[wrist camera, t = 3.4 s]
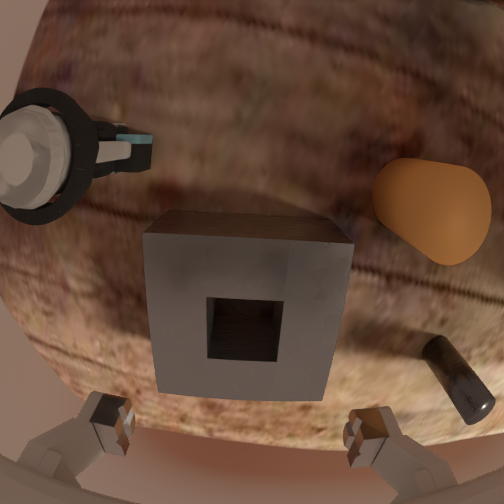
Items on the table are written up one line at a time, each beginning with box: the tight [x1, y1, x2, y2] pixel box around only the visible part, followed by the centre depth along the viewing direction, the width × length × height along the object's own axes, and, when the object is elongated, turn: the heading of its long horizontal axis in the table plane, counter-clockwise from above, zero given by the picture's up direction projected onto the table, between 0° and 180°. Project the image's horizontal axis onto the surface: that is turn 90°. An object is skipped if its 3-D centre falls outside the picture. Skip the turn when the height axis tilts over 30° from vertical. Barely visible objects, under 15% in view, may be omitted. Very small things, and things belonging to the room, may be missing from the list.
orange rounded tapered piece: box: [372, 157, 492, 265], centre depth 16 cm, size 5×5×6 cm
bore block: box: [142, 211, 355, 401], centre depth 19 cm, size 10×10×5 cm
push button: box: [0, 88, 153, 225], centre depth 13 cm, size 7×5×10 cm
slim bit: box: [422, 336, 495, 425], centre depth 19 cm, size 3×3×8 cm
